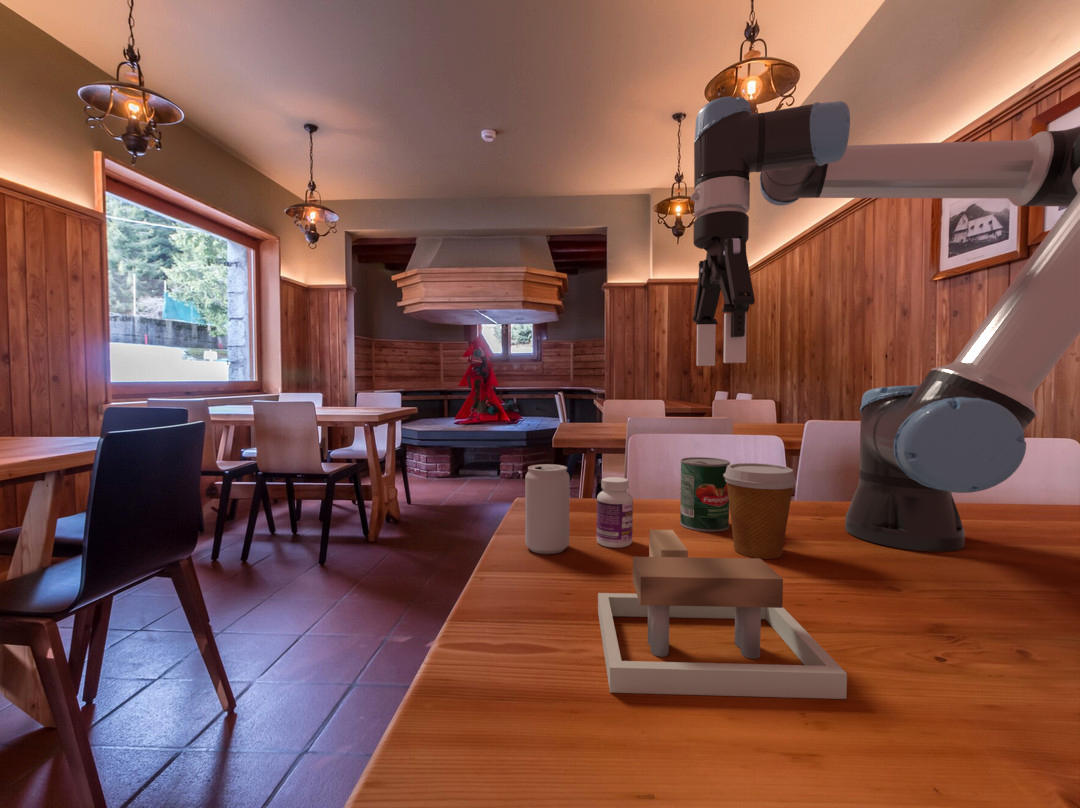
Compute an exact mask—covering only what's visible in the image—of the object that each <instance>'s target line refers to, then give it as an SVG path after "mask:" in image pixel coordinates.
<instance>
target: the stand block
mask: <svg viewBox="0 0 1080 808" xmlns="http://www.w3.org/2000/svg"><path fill="white" fill-rule="evenodd" d="M648 535H649V536H648V537H649V538H648V542H649V543H648V545H649V546H648V549H649V550H648V553H649V554H648V557H688V555H689V553H688V552H689V551H688V549H687V547H686V546H685V545H684V543H683V541H682V540H681V539H680V538H679V536H678V535H677V534H676V532H675V531H674V530H673V529H649V534H648Z"/></svg>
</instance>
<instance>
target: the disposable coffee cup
mask: <svg viewBox="0 0 1080 808" xmlns="http://www.w3.org/2000/svg"><path fill="white" fill-rule="evenodd" d="M723 475H724V477H725V481H726V482H727V489H728V497H729V516H730V524H731V530H732V531H731V532H732V539H733V549H734V551H735V552H736V553H738V554H740V555H743V556H745V557H750V558H759V559H761V560H763V559H764V560H765V559H767V560H769V559H777V558H781V557H782V555H783V549H784V544H785V539H786V531H787V525H788V519H789V513H790V508H791V506H790V505H791V500H792V494H793V490H794V489H793V488H794V487H795V483H796V482H797V480H798V479H797V477H795V474H794V470H793V468H790V467H789V466H783V465H776V464H768V463H756V462H754V463H753V462H748V463H747V462H742V463H741V462H739V463H738V462H737V463H730V465H728V466H727V469H726V473H724V474H723Z"/></svg>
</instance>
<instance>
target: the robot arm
mask: <svg viewBox="0 0 1080 808" xmlns="http://www.w3.org/2000/svg"><path fill="white" fill-rule="evenodd" d="M694 128H695V129H694V141H693V159H694V160H693V164H694V165H693V166H694V167H693V171H694V172H693V178H694V179H693V182H694V183H693V185H694V186H693V187H694V188H693V190H694V191H693V193H691V195H690V201H693V202H694V206H693V207H694V208H693V210H694V211H693V215H694V216H693V217H695V220H694V221H693V246H694V247H696V248H698V249H701V250H702V249H703V250H704V251H706V256H705V259H704V260H699V263H698V278H697V287H696V294H695V303H694V307H693V308H694V309H693V317H692V321H693V323H695V324H696V366H698V367H702V366H703V367H705V366H707V367H708V366H709V367H712V366H713V367H714V366H716V326H717V325H718V321H717V319H716V313H717V309H718V304H719V303H718V302H719V299H720V295H721V293H722V297H723V301H724V303H723V306H722V308H721V312H722V313H724V314H723V315H724V316H723V363H724V364H737V363H738V364H741V363H743V364H744V363H747V334H748V333H747V332H748V331H747V326H748V325H747V318H748V312H749V309H750V305H752V306H754V303H755V295H754V294H755V293H754V288H753V283H752V277H751V271H750V267H749V262H748V261H749V260H748V255H747V242H748V240H749V237H750V236H749V233H750V232H749V228H750V223H749V222H750V218H749V217H750V216H749V215H748V214H747V213H749V210H750V203H751V202H750V197H751V194H750V193H751V192H750V191H751V185H750V184H751V182H750V173H759V174H760V175H759V181H760V182H759V183H760V184H759V185H760V193H761V195H762V196H763V198H764V199H765V200H766V201H767V202H768V203H769V204H772V205H774V206H779V207H780V206H783V207H784V206H787V205H791V204H793V203H794V202H796V201H798V200H799V199H1008V200H1009V202H1010V204H1012V205H1013V206H1015V207H1066V209H1065V210H1064V211H1063V212H1062V214H1061V215H1060V217H1059V218H1058V220H1057V221H1056V222H1055V224H1054V225H1053V226H1052V228H1051V229H1050V230H1049V232H1048V233H1047V235H1045V237H1044V238H1043V240H1042V241H1041V242H1040V244H1039V245H1038V246H1037V248H1036V249H1035V251H1033V253H1032V255H1030V258H1028V260H1027V261H1026V263H1025V264H1024V265H1023V267H1022V268H1021V269H1020V271H1019V272H1018V274H1017V275H1016V276H1015V277H1014V279H1013V280H1012V281H1011V283H1010V284H1009V286H1008V287H1007V288H1006V290H1005V291H1004V293H1003V294H1002V295H1001V297H1000V298H999V299H998V301H997V302H996V304H995V305H994V306H993V307H992V309H991V310H990V311H989V313H988V314H987V316H986V317H985V318H984V320H983V321H982V323H981V324H980V325H979V326H978V328H976V331H975V332H974V333H973V335H972V336H971V337H970V339H969V340H968V341H967V343H966V344H965V346H964V347H963V349H962V350H961V351H960V352H959V353H958V355H957V357H956V358H955V359H954V360H953V362H952V363H951V362H950V363H949V364H945V365H941V366H937V367H933V368H931V370H930V371H928V373H927V375H926V376H925V377H924V379H923V380H922V382H920V384H919V385H917V384H916V385H914V384H913V385H894V386H892V385H891V386H881V387H875V388H870V389H869V390H867V391H865V392H864V393H863V394H862V397H861V402H860V403H861V404H860V408H859V415H860V431H859V432H860V438H859V474H858V475H859V477H858V484H857V487H856V489H855V491H854V492H855V493H854V494H853V497H852V499H851V502H850V504H849V506H848V509H847V512H846V514H845V522H844V523H845V525H844V526H845V527H844V528H845V529H844V530H845V531H846V532H847V533H848V534H850V535H852V536H854V537H856V538H859V539H861V540H864V541H867V542H871V543H874V544H878V545H881V546H882V545H883V546H887V547H892V548H898V549H903V550H904V549H905V550H912V551H922V552H937V553H938V552H953V551H960V550H962V549H963V548H964V547H965V546H966V545H965V543H966V538H965V537H966V532H965V528H964V526H963V521H962V519H961V517H960V514H959V511H958V508H957V505H956V502H955V500H954V497H953V494H952V493H957V494H966V493H970V494H971V493H976V492H981V491H985V490H988V489H991V488H994V487H996V486H999V485H1000V484H1001V483H1003V482H1005V481H1006V480H1008V479H1009V478H1010V477H1011V476H1012V475H1013V474H1014V473H1016V471H1017V470H1018V469H1019V467H1020V466H1021V464H1022V462H1023V460H1024V458H1025V455H1026V451H1027V442H1026V440H1025V439H1026V438H1025V430H1026V429H1027V428H1028V426H1029V425H1030V424H1031V422H1032V421H1033V420H1034V419H1035V417H1036V416H1037V414H1038V410H1037V409H1036V405H1035V403H1034V401H1033V394H1034V393H1035V391H1036V390H1037V389H1038V388H1039V387H1040V385H1041V383H1043V381H1044V379H1046V378H1047V376H1048V375H1049V374H1050V372H1051V371H1052V370H1053V368H1055V366H1056V364H1058V362H1059V361H1060V360H1061V359H1062V357H1063V356H1064V355H1065V354H1066V352H1067V351H1068V349H1070V347H1071V346H1072V344H1073V343H1074V341H1075V340H1076V339H1077V338H1078V337H1079V336H1080V126H1079V125H1078V126H1076V127H1072V128H1069V129H1063V130H1045V131H1040V132H1037V133H1035V134H1034V135H1033V136H1031V137H1029V138H1028V139H1022V140H1021V139H1015V140H985V141H983V140H982V141H952V142H951V141H949V142H947V141H946V142H944V141H943V142H917V143H916V142H914V143H910V142H909V143H884V144H883V143H881V144H877V143H876V144H875V143H874V144H850V145H849V144H848V142H849V137H850V129H851V113H850V108H849V106H848V104H847V103H846V102H845V101H843V100H842V101H841V100H839V101H828V102H813V103H811V104H806V105H799V106H794V107H788V108H782V109H776V110H770V111H766V112H760V113H759V112H753V111H752V110H751V103H750V102H749V100H747V99H746V98H744V97H741V96H737V97H733V96H731V95H730V96H723V97H720V98H716V99H713V100H711V101H709V102H708V103H705V105H703V107H701V108H700V109H699V111H698V113H697V115H696V118H695V127H694Z"/></svg>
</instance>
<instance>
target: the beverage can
mask: <svg viewBox="0 0 1080 808" xmlns="http://www.w3.org/2000/svg"><path fill="white" fill-rule="evenodd" d="M527 470H528V471H527V472H526V474H525V476H524V477H525V478H524V479H525V480H524V482H525V483H524V484H525V490H524V491H525V494H524V495H525V499H524V500H525V502H524V505H525V506H524V510H525V511H524V512H525V513H524V514H525V515H524V516H525V517H524V518H525V519H524V520H525V521H524V525H525V526H524V527H525V528H524V529H525V530H524V531H525V533H524V534H525V535H524V538H525V540H524V542H525V546H526V547H527V548H528V549H529V550H530V551H531V552H533V553H536V554H542V555H554V554H559V553H562V552H563V551H566V550H565V549H566V548H568V547H569V545H570V487H571V486H570V485H571V484H570V483H571V482H570V481H571V480H570V479H571V478H570V477H571V476H570V474H569V473H568V472H567V470H568V467H567V466H565V465H561V464H553V463H552V464H551V463H550V464H548V463H546V464H545V463H544V464H543V463H541V464H532V465H529V466H528V467H527Z"/></svg>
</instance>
